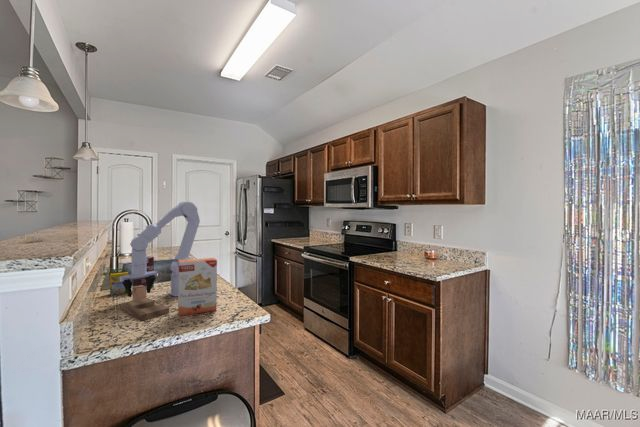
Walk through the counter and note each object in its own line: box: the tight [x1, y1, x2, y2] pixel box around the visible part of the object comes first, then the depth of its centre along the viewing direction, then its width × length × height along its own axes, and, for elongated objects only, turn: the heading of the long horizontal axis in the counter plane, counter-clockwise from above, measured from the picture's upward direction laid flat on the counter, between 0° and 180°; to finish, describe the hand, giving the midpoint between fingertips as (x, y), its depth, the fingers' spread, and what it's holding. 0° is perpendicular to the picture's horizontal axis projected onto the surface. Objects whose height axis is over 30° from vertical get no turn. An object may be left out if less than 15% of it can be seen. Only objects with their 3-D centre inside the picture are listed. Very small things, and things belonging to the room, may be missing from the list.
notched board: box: [120, 297, 170, 321], centre depth 120 cm, size 10×20×2 cm, turn 52°
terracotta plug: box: [131, 285, 147, 301], centre depth 133 cm, size 4×4×6 cm
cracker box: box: [177, 257, 218, 317], centre depth 119 cm, size 14×6×21 cm, turn 117°
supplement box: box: [132, 256, 155, 289], centre depth 149 cm, size 9×5×16 cm, turn 168°
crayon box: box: [109, 267, 130, 296], centre depth 142 cm, size 7×3×12 cm, turn 126°
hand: (139, 294), depth 133 cm, fingers open, 7 cm apart
